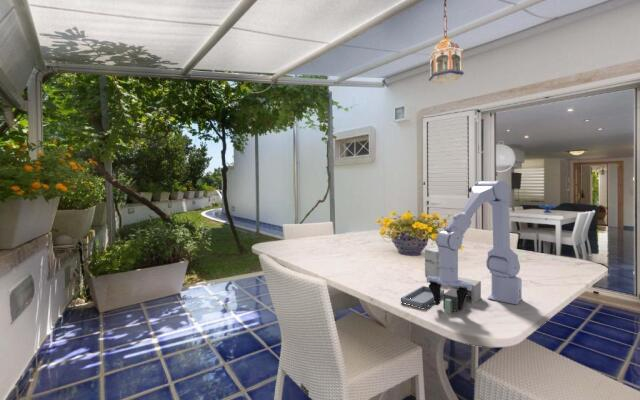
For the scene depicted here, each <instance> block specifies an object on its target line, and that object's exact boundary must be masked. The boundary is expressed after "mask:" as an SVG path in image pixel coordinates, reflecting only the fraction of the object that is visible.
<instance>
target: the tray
mask: <svg viewBox="0 0 640 400" xmlns="http://www.w3.org/2000/svg"><path fill="white" fill-rule="evenodd" d="M444 293H445V290H444V289H440V299H441V298H443V294H444ZM410 298H411V299H410ZM434 301H435V300H434V296H433V294H432V292H431V290H430V288H429V286H425V285H421V286H420V287H418V288H416V289H414V290H412V291H411V292H409V293H407V294H405V295H403V296H402V297H400V303H401V302H402V303H406V304H410V305H413V306H417V307H420V308H419V309H421V308H425V307H426V308H427V306H428V305H429V306H431V305H432V304H434V303H435V302H434ZM433 302H434V303H433ZM431 303H432V304H431ZM430 304H431V305H430ZM413 306H412V307H413ZM429 306H428V307H429ZM417 307H416V308H417ZM426 308H425V309H426Z"/></svg>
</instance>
